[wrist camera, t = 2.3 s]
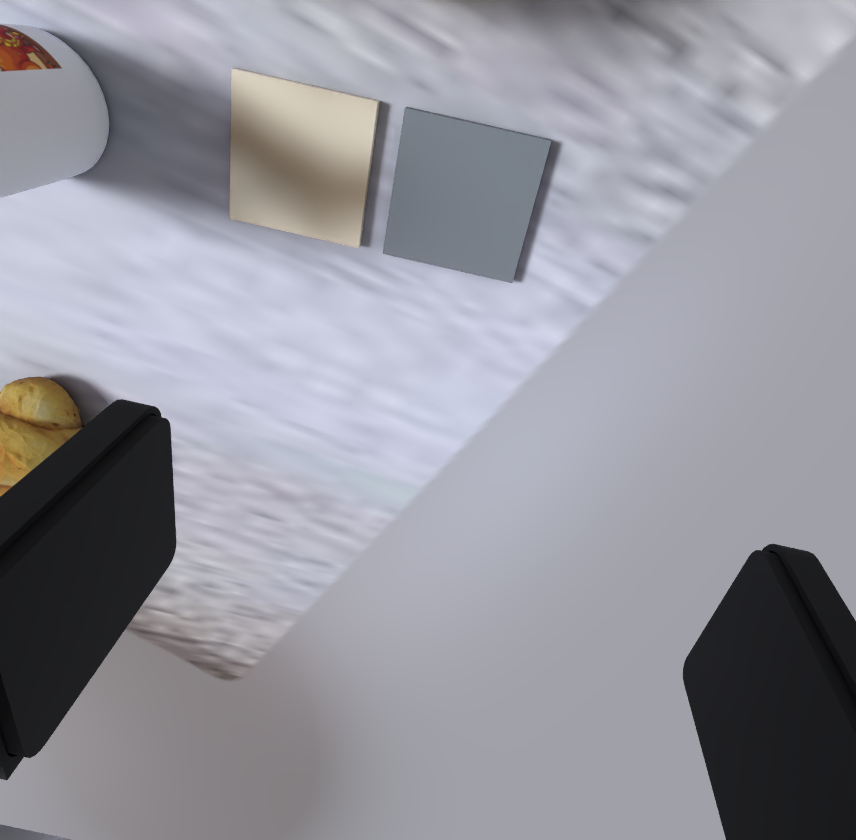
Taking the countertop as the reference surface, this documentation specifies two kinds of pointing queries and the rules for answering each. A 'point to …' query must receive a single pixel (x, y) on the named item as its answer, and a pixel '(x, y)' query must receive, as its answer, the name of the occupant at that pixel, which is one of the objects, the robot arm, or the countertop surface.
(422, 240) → the slate mat
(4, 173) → the milk bottle
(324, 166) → the cream square tile
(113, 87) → the countertop surface
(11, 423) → the bread roll
